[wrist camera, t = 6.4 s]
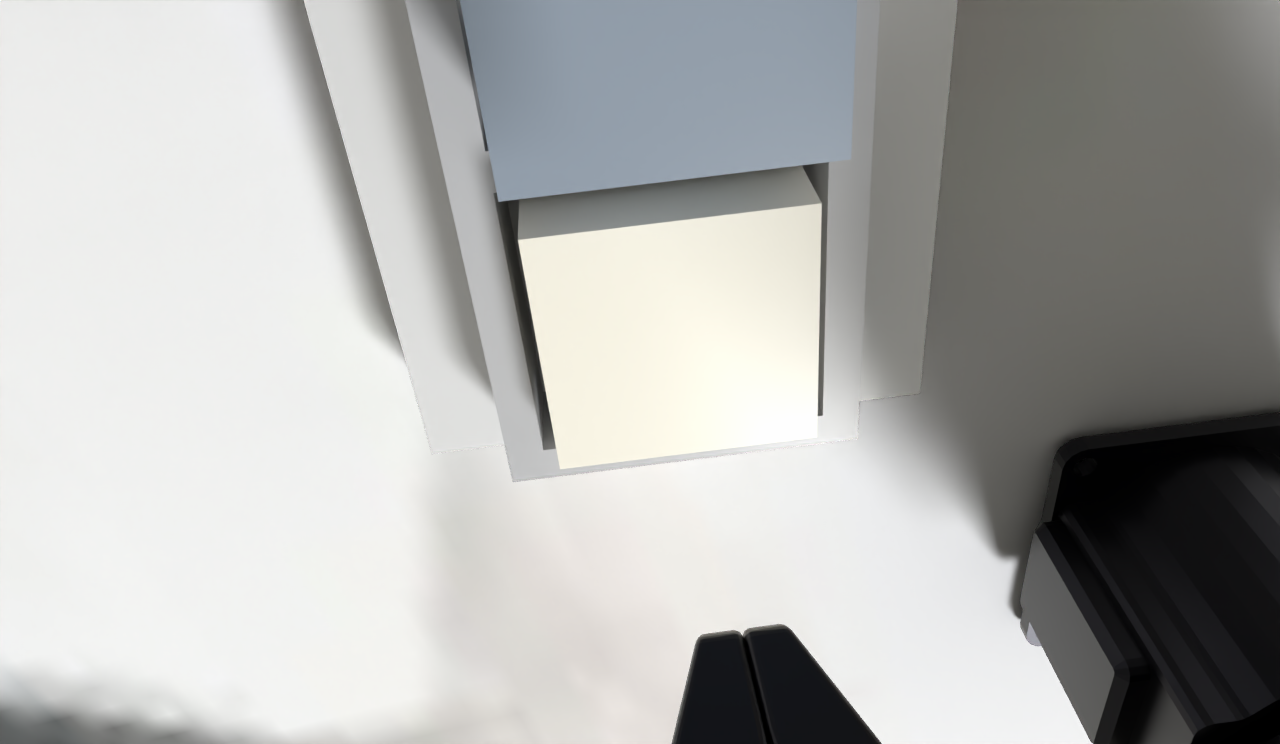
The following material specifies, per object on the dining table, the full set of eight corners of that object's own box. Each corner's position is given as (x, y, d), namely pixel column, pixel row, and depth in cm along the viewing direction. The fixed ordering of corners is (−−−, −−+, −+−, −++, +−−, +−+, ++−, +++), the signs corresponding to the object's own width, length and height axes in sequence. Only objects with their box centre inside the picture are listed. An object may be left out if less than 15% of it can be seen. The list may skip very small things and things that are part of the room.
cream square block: (790, 143, 15) (821, 203, 13) (790, 363, 17) (817, 437, 15) (519, 175, 14) (517, 239, 13) (557, 391, 17) (560, 470, 15)
